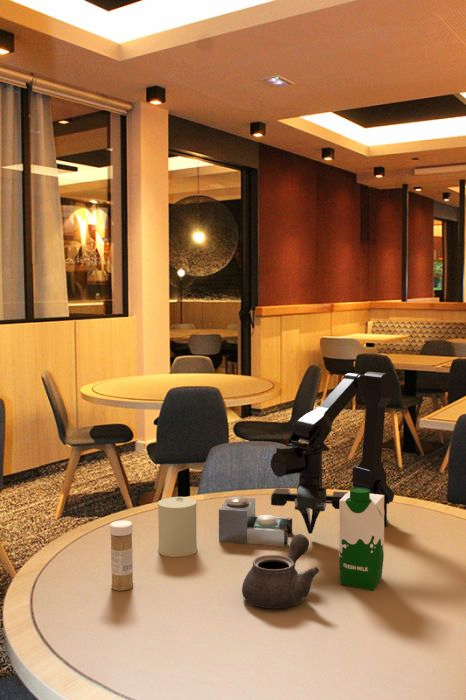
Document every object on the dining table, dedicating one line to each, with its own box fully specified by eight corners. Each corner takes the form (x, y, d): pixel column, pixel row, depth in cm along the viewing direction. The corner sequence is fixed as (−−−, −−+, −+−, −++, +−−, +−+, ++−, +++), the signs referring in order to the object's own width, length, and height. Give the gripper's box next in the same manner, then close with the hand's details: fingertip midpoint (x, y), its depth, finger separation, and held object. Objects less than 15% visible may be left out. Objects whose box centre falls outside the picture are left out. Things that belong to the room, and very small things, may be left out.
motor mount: (292, 531, 180) (293, 496, 180) (287, 546, 170) (287, 509, 169) (228, 527, 184) (228, 493, 183) (218, 541, 173) (218, 505, 172)
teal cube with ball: (280, 535, 178) (280, 514, 178) (278, 543, 172) (278, 522, 172) (256, 533, 179) (256, 513, 179) (253, 541, 173) (253, 521, 173)
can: (199, 543, 172) (199, 495, 171) (194, 557, 163) (193, 506, 162) (162, 542, 173) (161, 494, 172) (154, 556, 163) (153, 505, 163)
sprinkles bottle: (129, 581, 149) (128, 518, 148) (136, 589, 145) (135, 524, 144) (108, 585, 147) (107, 521, 146) (114, 593, 143) (113, 528, 142)
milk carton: (334, 585, 146) (335, 490, 145) (347, 570, 155) (347, 480, 153) (377, 593, 143) (378, 495, 141) (387, 577, 151) (388, 484, 149)
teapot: (309, 620, 131) (309, 568, 130) (232, 607, 137) (232, 556, 136) (335, 582, 148) (335, 535, 148) (265, 572, 154) (265, 526, 153)
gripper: (267, 477, 167) (267, 541, 168) (347, 480, 163) (347, 547, 164) (274, 465, 178) (274, 526, 179) (350, 469, 174) (349, 531, 175)
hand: (310, 533), depth 174 cm, fingers closed
